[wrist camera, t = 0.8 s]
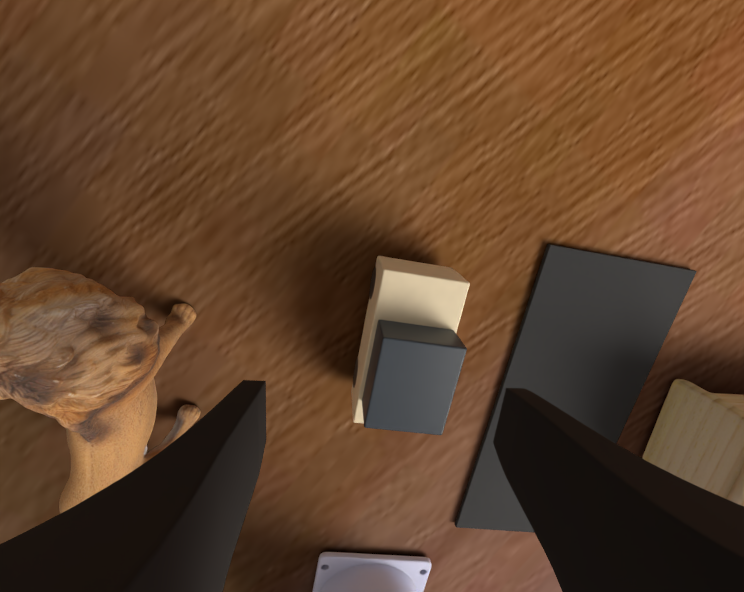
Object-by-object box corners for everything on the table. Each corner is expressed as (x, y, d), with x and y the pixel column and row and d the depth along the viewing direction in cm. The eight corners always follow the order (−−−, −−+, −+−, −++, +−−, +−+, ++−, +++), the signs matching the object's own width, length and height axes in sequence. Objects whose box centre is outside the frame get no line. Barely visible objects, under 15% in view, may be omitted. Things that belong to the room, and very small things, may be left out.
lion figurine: (74, 237, 18) (-175, 298, 9) (189, 236, 18) (54, 294, 10) (136, 478, 22) (10, 667, 14) (226, 473, 23) (157, 653, 14)
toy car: (416, 393, 22) (439, 459, 17) (350, 385, 21) (354, 451, 16) (449, 264, 20) (487, 297, 14) (376, 252, 19) (389, 282, 14)
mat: (571, 531, 27) (573, 535, 27) (454, 523, 26) (455, 527, 25) (692, 269, 21) (697, 271, 21) (547, 243, 20) (550, 244, 19)
